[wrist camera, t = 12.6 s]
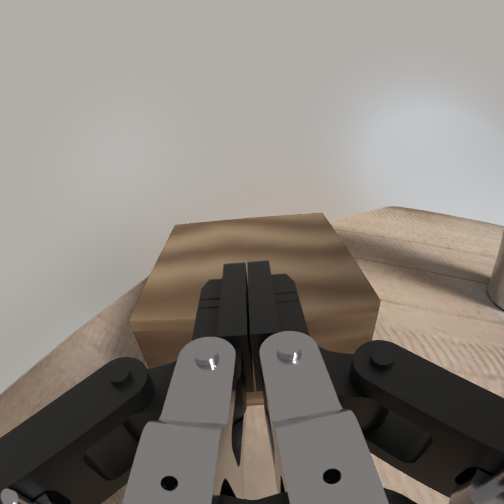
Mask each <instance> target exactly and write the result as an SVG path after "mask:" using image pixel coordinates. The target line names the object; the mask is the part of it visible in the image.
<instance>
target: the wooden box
mask: <svg viewBox="0 0 504 504" xmlns="http://www.w3.org/2000/svg"><path fill="white" fill-rule="evenodd" d="M377 315H378V312H372V313H365V314H359V315H351V316H344V317H337V318H329V319H320V320H312V321H306V325H307V329H308V332H309V335H310V337H311V338H312V339H313V340H314V341H315V342H316V344H317V345H318V346H320V347H321V348H323V349H326V350H328V351H332V352H338V353H348V354H354V353H355V351H356V350H357V348H358V347H360V346H361V345H362V344H364V343H366V342H369V341H372V337H373V333H374V328H375V324H376V320H377ZM133 332H134V334H135V337H136V339H137V342H138V344H139V346H140V349H141V351H142V353H143V356H144V358H145V360H146V362H147V365H148V367H149V369H151V368H155V367H159V366H163V365H166V364H170V363H172V362H174V361H176V360H177V359H178V356H179V353H180V351H181V350H182V349H183V348H184V346H186V345H187V344H188V343H190V342H191V341H192V336H193V330H166V331H133ZM253 378H254V392H246V396H247V406H250V405H264V399H263V391H259V392H256V383H255V374H254V366H253Z"/></svg>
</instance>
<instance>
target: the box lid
mask: <svg viewBox="0 0 504 504" xmlns="http://www.w3.org/2000/svg"><path fill="white" fill-rule="evenodd" d="M264 260H269V264H270V270H271V275H273V274H285V273H286V274H287V275H288V276H289V277H290V278H291V279H292V280H294V281H295V285H296V288H297V293H298V296H299V299H300V303H301V307H302V310H303V314H304V318H305V321H312V320H320V319H329V318H337V317H344V316H351V315H359V314H365V313H372V312H378V310H379V306H380V299H379V297H378V296H377V294H376V292H375V291H374V289H373V288H372V286H371V285H370V283H369V281H368V280H367V278H366V277H365V275H364V274H363V272H362V270H361V269H360V267H359V266H358V264H357V263H356V261H355V260H354V258H353V257H352V255H351V254H350V252H349V251H348V249H347V248H346V246H345V245H344V243H343V242H342V240H341V239H340V237H339V236H338V235H337V233H336V232H335V230H334V229H333V227H332V226H331V224H330V223H329V222H328V220H327V219H326V217H325V216H324V215H323V213H312V214H297V215H283V216H270V217H257V218H245V219H234V220H223V221H211V222H200V223H190V224H181V225H175V226H174V228H173V230H172V232H171V234H170V236H169V238H168V240H167V242H166V244H165V246H164V248H163V250H162V252H161V254H160V256H159V258H158V260H157V262H156V264H155V266H154V268H153V270H152V272H151V274H150V276H149V278H148V280H147V282H146V284H145V286H144V289H143V291H142V293H141V295H140V297H139V299H138V302H137V304H136V306H135V308H134V310H133V313H132V315H131V317H130V319H129V322H130V324H131V327H132V329H133V331H166V330H194V325H195V319H196V314H197V310H198V303H199V298H200V293H201V289H202V287H203V286H204V285H205V284H206V283H207V282H208V280H211V279H222V275H223V265H224V264H228V263H241V262H245V263H246V271H247V282H248V270H247V262H252V261H264Z"/></svg>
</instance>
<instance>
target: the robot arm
mask: <svg viewBox="0 0 504 504" xmlns="http://www.w3.org/2000/svg"><path fill="white" fill-rule="evenodd" d="M247 270H248V282H247V271H246V263H245V262H241V263H228V264H224V265H223V275H222V279H211V280H208V282H207V283H206V284H205V285H204V286H203V287H202V289H201V293H200V298H199V303H198V310H197V314H196V319H195V325H194V330H193V336H192V341H191V342H190V343H188V344H187V345H186V346H184V348H183V349H182V350H181V351H180V353H179V356H178V359H177V360H176V361H174V362H172V363H170V364H166V365H163V366H159V367H155V368H151V369H147V368H146V367H145V365H144V364H143V363H142V362H141V361H139V360H137V359H135V358H130V357H123V358H118V359H115V360H112V361H110V362H109V363H107V364H106V365H104V366H103V367H101V368H100V369H98V370H97V371H96V372H94V373H93V374H91V375H90V376H89V377H87V378H86V379H84V380H83V381H81V382H80V383H79V384H77V385H76V386H74V387H73V388H71V389H70V390H69V391H67V392H66V393H64V394H63V395H62V396H60V397H59V398H57V399H56V400H54V401H53V402H52V403H50V404H49V405H47V406H46V407H44V408H43V409H42V410H40V411H39V412H37V413H36V414H34V415H33V416H31V417H30V418H29V419H27V420H26V421H24V422H23V423H21V424H20V425H19V426H17V427H16V428H14V429H13V430H11V431H10V432H8V433H7V434H6V435H4V436H3V437H1V438H0V504H101V503H102V502H103V501H105V500H106V499H107V498H109V497H110V496H111V495H113V494H114V493H115V492H117V491H118V490H119V489H120V488H122V487H123V486H124V485H125V484H127V487H126V490H125V494H124V498H123V502H122V504H417V503H415V502H414V501H412V500H411V499H409V498H407V497H405V496H404V495H402V494H399V493H397V492H395V491H392V490H389V489H386V488H383V486H382V483H381V481H380V478H379V475H378V473H377V470H376V467H375V465H374V462H373V459H372V457H371V454H370V452H371V453H372V454H374V455H375V456H377V457H378V458H380V459H382V460H383V461H385V462H387V463H388V464H390V465H391V466H393V467H395V468H396V469H398V470H400V471H402V472H403V473H405V474H407V475H408V476H410V477H412V478H414V479H415V480H417V481H419V482H421V483H423V484H424V485H426V486H428V487H430V488H432V489H434V490H436V491H438V492H439V493H441V494H443V495H445V496H447V497H449V498H450V501H449V504H504V398H502V397H500V396H498V395H496V394H494V393H492V392H490V391H488V390H486V389H484V388H482V387H480V386H478V385H476V384H474V383H472V382H470V381H468V380H465V379H463V378H461V377H459V376H457V375H455V374H453V373H451V372H449V371H447V370H445V369H443V368H442V367H440V366H438V365H436V364H434V363H432V362H430V361H428V360H426V359H424V358H422V357H420V356H418V355H416V354H414V353H412V352H410V351H408V350H406V349H404V348H402V347H400V346H398V345H396V344H394V343H392V342H388V341H383V340H374V341H369V342H366V343H364V344H362V345H361V346H360V347H358V348H357V350H356V351H355V353H354V354H348V353H338V352H332V351H328V350H326V349H323V348H321V347H320V346H318V345H317V344H316V342H315V341H314V340H313V339H312V338H311V337H310V335H309V332H308V329H307V325H306V321H305V318H304V314H303V310H302V307H301V303H300V299H299V296H298V293H297V288H296V285H295V281H294V280H292V279H291V278H290V277H289V276H288V275H287V274H286V273H285V274H273V275H271V270H270V264H269V260H264V261H252V262H247ZM487 291H488V294H489V296H490V298H491V299H492V301H493V302H494V303H495V304H496V305H498V306H499V307H500V308H502V309H503V310H504V232H503V237H502V241H501V245H500V248H499V252H498V256H497V259H496V263H495V266H494V269H493V272H492V275H491V278H490V281H489V284H488V287H487ZM253 366H254V374H255V383H256V392H259V391H263V399H264V410H265V418H266V424H267V430H268V435H269V441H270V447H271V453H272V458H273V464H274V470H275V477H276V484H277V491H278V494H276V495H272V496H269V497H266V498H262V499H258V500H246V499H243V475H242V469H243V454H244V439H245V425H246V408H247V396H246V392H254V378H253Z"/></svg>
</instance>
